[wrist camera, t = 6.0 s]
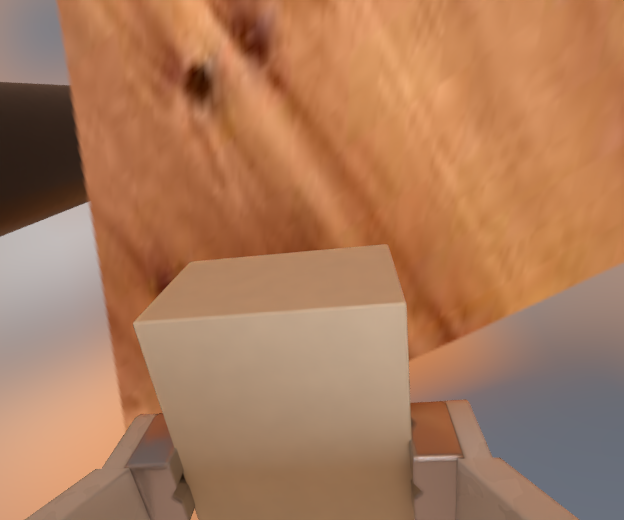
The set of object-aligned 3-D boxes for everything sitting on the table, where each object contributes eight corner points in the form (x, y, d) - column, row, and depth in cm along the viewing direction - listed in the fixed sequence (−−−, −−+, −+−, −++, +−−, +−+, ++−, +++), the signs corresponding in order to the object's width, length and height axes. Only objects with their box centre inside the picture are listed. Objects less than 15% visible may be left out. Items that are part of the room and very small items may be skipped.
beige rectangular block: (247, 484, 13) (220, 589, 10) (189, 260, 10) (130, 322, 7) (401, 481, 12) (417, 591, 10) (388, 243, 9) (406, 302, 7)
